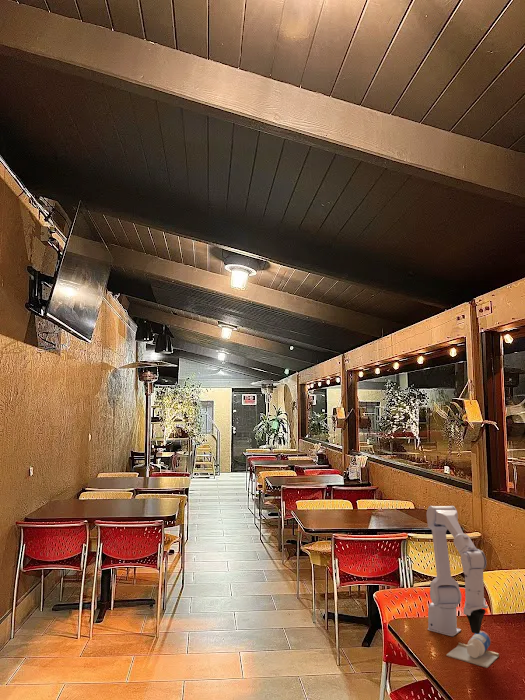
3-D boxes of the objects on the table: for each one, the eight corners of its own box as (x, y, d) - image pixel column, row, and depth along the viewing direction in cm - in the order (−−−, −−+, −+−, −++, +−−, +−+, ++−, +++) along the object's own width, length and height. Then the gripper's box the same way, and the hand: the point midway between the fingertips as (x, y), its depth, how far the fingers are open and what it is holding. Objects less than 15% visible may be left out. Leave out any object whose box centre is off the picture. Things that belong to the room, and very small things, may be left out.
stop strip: (458, 646, 190) (458, 643, 190) (459, 645, 190) (459, 642, 190) (498, 657, 181) (497, 654, 181) (499, 656, 182) (498, 653, 182)
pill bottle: (487, 650, 186) (477, 664, 178) (472, 639, 189) (461, 652, 181) (494, 637, 184) (483, 650, 177) (478, 626, 187) (468, 639, 180)
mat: (446, 655, 182) (446, 654, 182) (458, 646, 190) (458, 645, 190) (487, 667, 174) (487, 666, 174) (498, 657, 181) (497, 656, 181)
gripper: (478, 597, 176) (480, 642, 175) (494, 586, 187) (495, 629, 185) (456, 592, 181) (457, 636, 179) (473, 582, 192) (474, 624, 190)
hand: (475, 632), depth 183 cm, fingers closed
